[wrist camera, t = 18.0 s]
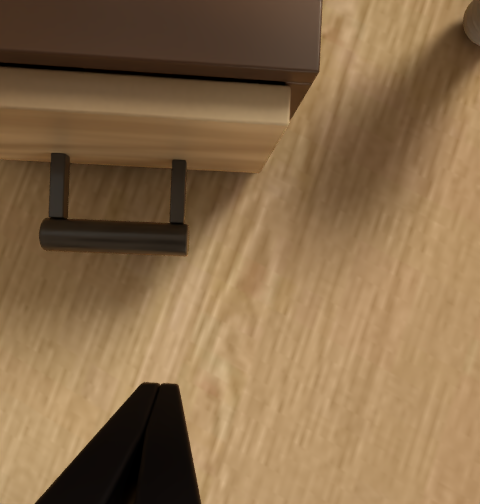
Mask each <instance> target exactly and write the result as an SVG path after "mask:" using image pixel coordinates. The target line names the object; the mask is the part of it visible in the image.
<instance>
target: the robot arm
mask: <svg viewBox="0 0 480 504" xmlns="http://www.w3.org/2000/svg"><path fill="white" fill-rule="evenodd" d="M35 504H201V500H200V495H199V489H198V484H197V479H196V474H195V468H194V463H193V458H192V453H191V447H190V442H189V437H188V432H187V426H186V421H185V416H184V411H183V405H182V400H181V395H180V390H179V386H178V385H177V384H169V383H163V384H161V385H160V384H159V383H149V382H144V383H142V384H141V385H140V386H139V387H138V388H137V389H136V390H135V391H134V392H133V394H132V395H131V396H130V397H129V398H128V399H127V400H126V401H125V403H124V404H123V405H122V406H121V407H120V408H119V409H118V410H117V412H116V413H115V414H114V415H113V416H112V417H111V418H110V419H109V421H108V422H107V423H106V424H105V425H104V426H103V427H102V428H101V430H100V431H99V432H98V433H97V434H96V435H95V436H94V437H93V439H92V440H91V441H90V442H89V443H88V444H87V445H86V447H85V448H84V449H83V450H82V451H81V452H80V453H79V454H78V456H77V457H76V458H75V459H74V460H73V461H72V462H71V463H70V465H69V466H68V467H67V468H66V469H65V470H64V471H63V472H62V474H61V475H60V476H59V477H58V478H57V479H56V480H55V481H54V483H53V484H52V485H51V486H50V487H49V488H48V489H47V490H46V492H45V493H44V494H43V495H42V496H41V497H40V498H39V499H38V501H37V502H36V503H35Z"/></svg>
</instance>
